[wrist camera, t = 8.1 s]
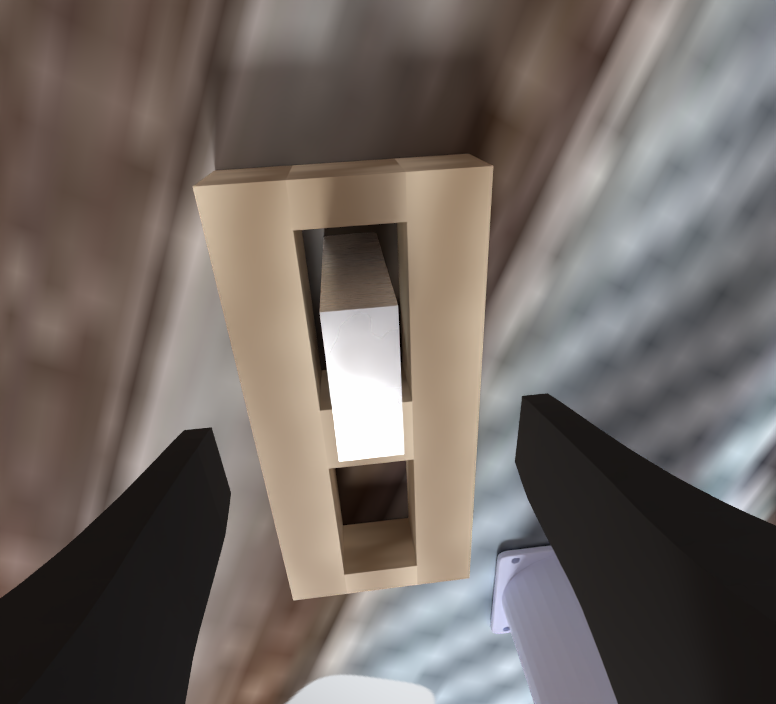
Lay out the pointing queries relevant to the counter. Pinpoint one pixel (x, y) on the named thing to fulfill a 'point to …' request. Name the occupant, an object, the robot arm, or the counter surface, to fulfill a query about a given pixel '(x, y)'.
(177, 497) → the robot arm
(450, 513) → the slotted wooden frame
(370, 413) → the steel bracket tab
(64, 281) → the counter surface
